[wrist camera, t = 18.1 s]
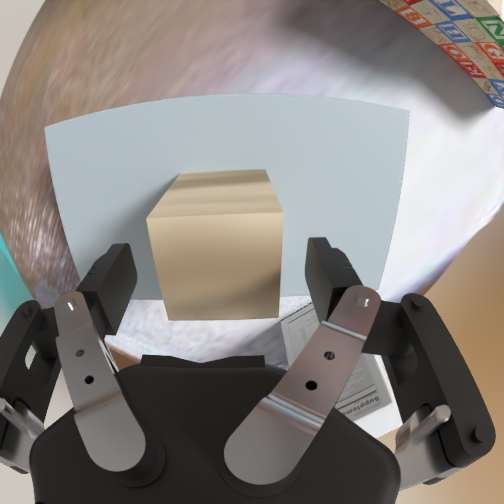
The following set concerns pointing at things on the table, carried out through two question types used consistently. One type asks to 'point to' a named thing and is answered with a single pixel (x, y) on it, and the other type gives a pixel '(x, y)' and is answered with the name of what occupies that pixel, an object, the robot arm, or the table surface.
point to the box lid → (234, 158)
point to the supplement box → (350, 379)
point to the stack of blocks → (464, 36)
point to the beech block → (218, 246)
